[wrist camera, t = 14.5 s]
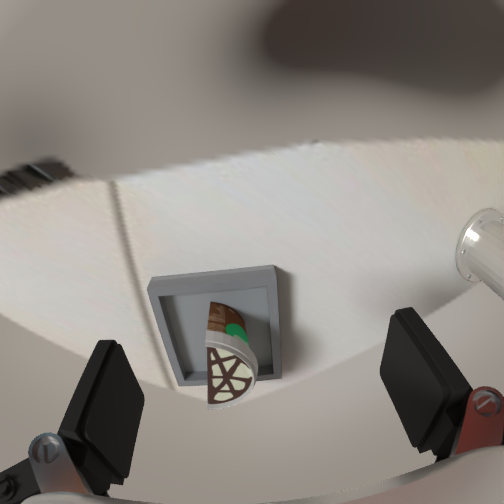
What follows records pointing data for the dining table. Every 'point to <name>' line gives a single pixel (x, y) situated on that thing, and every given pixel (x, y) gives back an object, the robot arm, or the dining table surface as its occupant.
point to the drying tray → (197, 311)
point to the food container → (228, 358)
